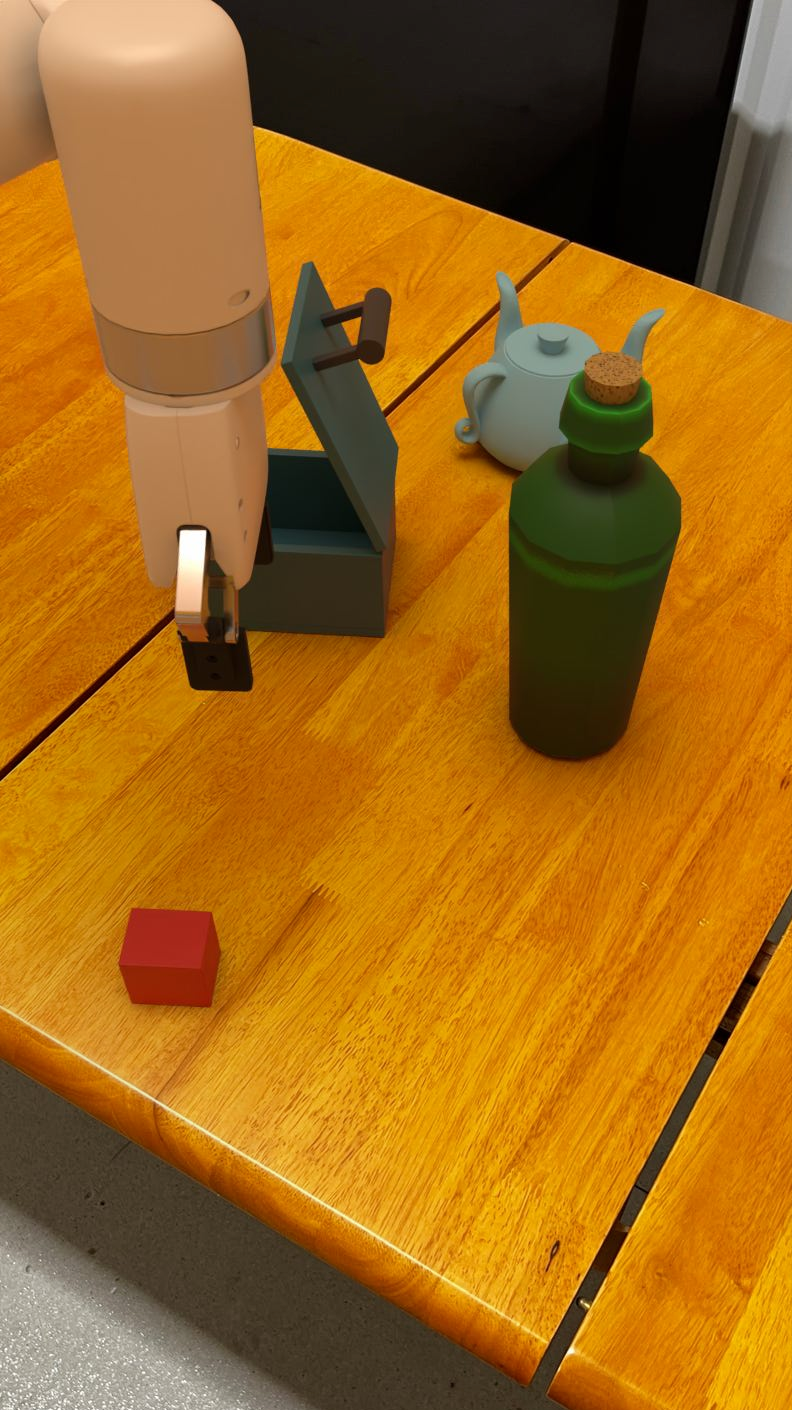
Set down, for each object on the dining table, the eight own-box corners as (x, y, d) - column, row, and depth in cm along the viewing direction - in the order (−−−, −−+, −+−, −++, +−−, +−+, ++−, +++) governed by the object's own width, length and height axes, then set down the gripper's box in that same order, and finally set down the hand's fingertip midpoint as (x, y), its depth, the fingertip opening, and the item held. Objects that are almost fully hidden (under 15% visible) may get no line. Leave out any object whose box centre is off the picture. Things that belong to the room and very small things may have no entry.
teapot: (431, 463, 111) (432, 354, 103) (496, 369, 119) (502, 261, 111) (595, 510, 108) (609, 401, 100) (650, 410, 116) (667, 302, 108)
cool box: (189, 627, 98) (173, 545, 92) (213, 526, 105) (200, 443, 99) (384, 637, 98) (382, 556, 92) (396, 535, 105) (394, 454, 99)
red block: (131, 1003, 79) (117, 964, 75) (143, 947, 81) (131, 907, 78) (211, 1007, 79) (201, 968, 75) (221, 951, 81) (212, 911, 78)
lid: (279, 364, 80) (363, 339, 79) (301, 263, 87) (379, 238, 85) (376, 552, 92) (452, 533, 90) (389, 450, 99) (459, 431, 97)
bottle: (622, 658, 98) (682, 308, 75) (658, 766, 92) (735, 420, 69) (481, 672, 96) (499, 320, 74) (508, 782, 90) (536, 435, 68)
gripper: (133, 221, 62) (188, 515, 75) (57, 447, 51) (136, 740, 65) (293, 227, 62) (318, 519, 76) (249, 453, 51) (288, 744, 65)
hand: (234, 621), depth 70 cm, fingers open, 9 cm apart
